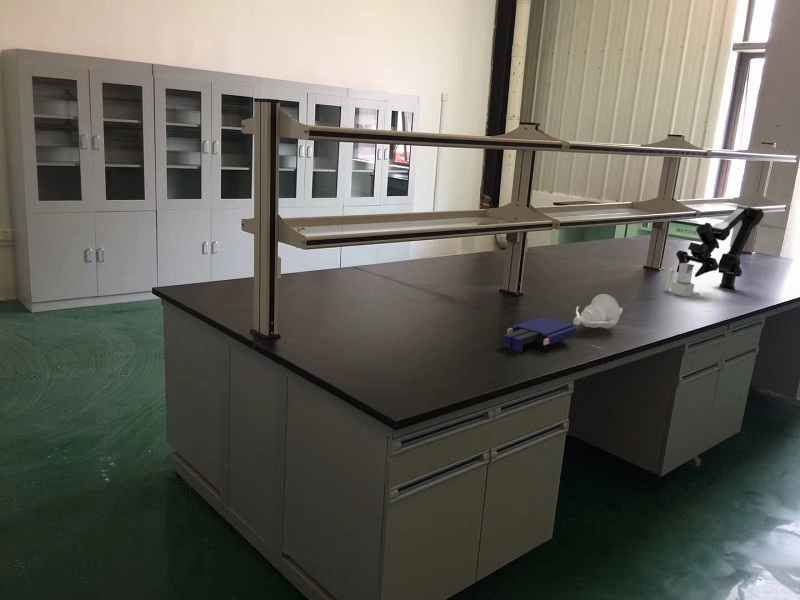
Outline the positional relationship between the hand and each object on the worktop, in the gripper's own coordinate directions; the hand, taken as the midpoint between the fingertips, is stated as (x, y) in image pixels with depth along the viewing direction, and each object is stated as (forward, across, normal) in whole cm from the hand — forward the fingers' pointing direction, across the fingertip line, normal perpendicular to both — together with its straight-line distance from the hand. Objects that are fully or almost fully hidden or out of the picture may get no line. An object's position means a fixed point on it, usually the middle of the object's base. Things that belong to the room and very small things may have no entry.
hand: (686, 274), depth 293 cm
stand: (+7, 0, +6) cm, 9 cm away
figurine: (+66, +26, -52) cm, 88 cm away
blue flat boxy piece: (+88, +29, -74) cm, 119 cm away
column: (+7, 0, +6) cm, 9 cm away
